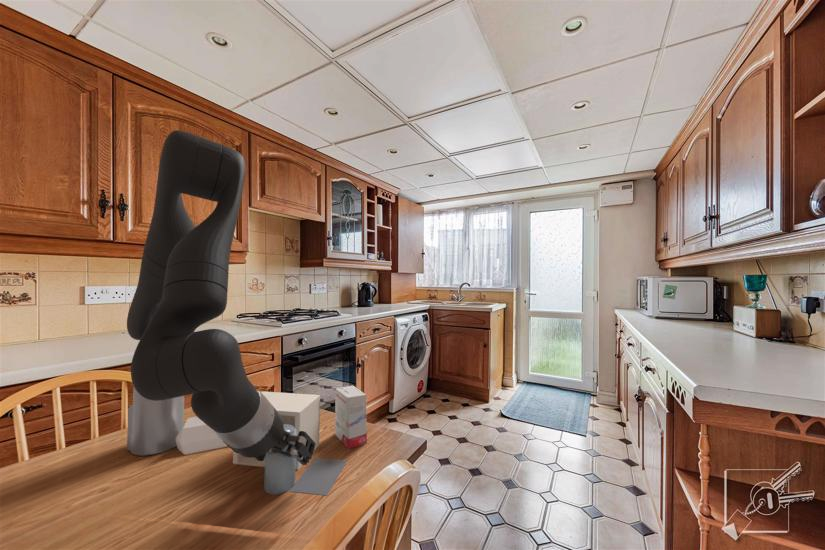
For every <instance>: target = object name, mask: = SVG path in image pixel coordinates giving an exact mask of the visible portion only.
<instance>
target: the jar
mask: <svg viewBox="0 0 825 550" xmlns="http://www.w3.org/2000/svg"><path fill="white" fill-rule="evenodd" d="M283 426H284V429H285V431H287V432H289V433H291V434H293V435H296V433H297V431H296V429H295V428H294V426H292V425H289V424H283ZM287 447H288V446H287ZM287 447H285V448H284V449H283V450H282V451H284V452H286V450H287ZM294 452H295V453H296V450H294ZM295 464H296V458H293V457H289V458H284V457H281V456H279V455H276V454H268V453H265V467H264V477H263V478H264V479H263V480H264V483H263V485H264V486H263V489H264V492H265V494H269V495H281V494H284V493H286V492H288V491H290V490H291V488H292V487H293V486H294V485H295V483H296V470H295Z"/></svg>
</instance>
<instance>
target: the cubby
mask: <svg viewBox="0 0 825 550" xmlns="http://www.w3.org/2000/svg"><path fill="white" fill-rule="evenodd" d="M261 393H262V394H263V395H264V396H265V397H266V398H267V399H268V401H269V402H270V403H271V404H272V405H273V407H274V408H275V409H276V410H277V412H278V413H279V414H280V415H281V417H282V420H283V424H289V425H292V426H294V428H295V429H296V431H297V433H296V436H298V434H299V431H304V432H306V433H307V434H308V435H309V437H310V438H311V439H312V440H313V441H314V442H315V443H316V445H315V448H314V451H316V449H317V448H318V446H319V445H320V425H321V424H320V422H321V421H320V418H321V394H307V393H294V392H279V391H278V392H275V391H261ZM232 451H233V450H232ZM297 452H298V451H297V450H296V453H297ZM232 464H233V465H242V466H254V467H263V468H265V458H264V460H263V461H258V460H257V459H256V458H254V457H252V458H249V457H244V456H242V455H240V454H239V453H236V452H234V451H233V452H232ZM302 466H303V465H302V464H301V463H300V462H299V461H298V460H297V459H296V464H295V471H296V470H297V471H299V470H300V469H301V468H302Z"/></svg>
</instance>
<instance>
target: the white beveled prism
mask: <svg viewBox="0 0 825 550" xmlns="http://www.w3.org/2000/svg"><path fill="white" fill-rule="evenodd" d="M175 441H176V444H177V446H176V447H177V449H178V451H180V452H181V453H182V454H183V455H184V456H186V455H191V454H196V453H200V452H205V451H212V450H217V449H221V448H225V447H228V446H227V445H226V444H225V443H224V442H223V440H221V439H220V438H219V437H218V436H217V434H216V433H215V431H214V430H213V429H211V428H210V427H209V426H208V425H206V424H205V423H204V422H203V421H201V420H200V419H199V418H198V417H197V416H192V417H191V416H190V417H188V418H187V419H186V420H185V422H183V426H182V428H181V430H180V431H179V433H178V435H177V437H176V439H175Z"/></svg>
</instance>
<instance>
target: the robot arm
mask: <svg viewBox="0 0 825 550" xmlns="http://www.w3.org/2000/svg"><path fill="white" fill-rule="evenodd" d="M245 162H246V161H245V159H244V157H243V155H242V154H241V152H239V151H237V150H235V149H233V148H232V147H229V146H226V145H223V144H221V143H218V142H215V141H212V140H210V139H207V138H205V137H201V136H199V135H197V134H193V133H190V132H187V131H184V130H177V129H176V130H173V131H171V132H170V133H169V134H168V135H167V136H166V138H165V140H164V144H163V146H162V149H161V153H160V159H159V165H158V173H157V174H158V175H157V183H156V188H155V189H156V190H155V199H154V206H153V210H152V211H153V212H152V217H151V221H150V224H149V229H148V233H147V234H146V240H145V241H144V247H143V253H142V257H141V262H140V270H139V275H138V276H139V277H138V281H137V286H136V289H135V293H134V294H133V297H132V299H131V303H130V306H129V310H128V314H127V318H126V329H127V333H128V335H129V337H130V338H132V339H133V340H136V341H138V344H137V345H136V348H135V350H134V352H133V356H132V360H131V363H130V364H131V365H130V377H131V383H132V385H133V389H132V390H133V391H132V392H133V393H132V404H131V405H129V406H128V408H127V409H128V413H127V435H126V437H127V438H126V450H127V451H130V453H131V454H132V455H134V456H150V455H156V454H160V453H164V452H166V451H170V450H171V449H173V448H176V447H177V444H176V441H175V439H176V437H177V435H178V433H179V431H180V430H181V428H182V426H183V425H184V414H185V396H188V395H189V396H190V395H191V398H190V406H191V410H192V412H193V413H194V414H195V417H198V418H199V419H200V420H201V421H203V422H204V423H205V424H206V425H208V426H209V427H210V428H211V429H213V430H214V431H215V433H216V434H217V436H218V437H219V438H220V439H221V440H223V442H224V443H225V444H226V445H227V447H228V448H230V449H231V450H232V451H234V452H236V453H239V454H240V455H242V456H244V457H249V458H252V457H254V458H256V459H257V460H258V461H263V460H264V458H265V453H268V454H276V455H279V456H281V457H284V458H289V457H293V458H296V459H297V460H298V461H299V462H300V463H301V464H302V466H307V464H308V463H309V462H310V460H312V458H313V455H314V451H315V450H314V448H315V445H316V443H315V442H314V441H313V440H312V439H311V438H310V437H309V435H308V434H307V433H306V432H304V431H299V434H298V436H296V435H293V434H291V433H289V432H287V431H285V429H284V426H283V420H282V417H281V415H280V414H279V413H278V412H277V410H276V409H275V408H274V407H273V405H272V404H271V403H270V402H269V401H268V399H267V398H266V397H265V396H264V395H263V394H262V393H261V392H262V391H261V392H260V391H259V389H257V388H256V387H255V385H254V384H253V382H251V381H250V380H249V378H248V376H247V373H246V370H245V369H246V368H245V367H244V365H243V363H244V362H243V359H242V354H241V349H240V345H239V342H238V340H237V339H236V337H234V335H232V334H231V333H229V332H227V331H225V330H223V329H220V328H207V329H204V330H197V328H199V327H200V326H202V325H204V324H206V323H208V322H210V321H212V320H215V319H217V318H218V317H219V316H222V314H224V312H225V310H226V308H227V304H228V291H229V290H228V289H229V273H230V272H229V270H230V269H229V268H230V267H229V266H230V259H231V258H230V256H231V251H232V245H233V241H234V240H233V239H234V235H235V232H236V228H237V223H238V217H239V212H240V207H241V201H242V196H243V191H244V187H245V186H244V185H245V179H246V178H245V177H246V163H245ZM182 194H183V195H188V196H191V197H195V198H196V197H197V198H199V199H202V200H206V201H209V202H216V203H217V204H216V206H215V207H214V209H213V211H212V212H211V213H210V214H209V215H208V216H207V217H206V218H205V219H203V220H202V221H201V222H200V223H199V224H198V225H195V223H194V221H193V220H192V218H191V217H190V215H189V214H188V211H187V210H186V207H185V204H184V201H183V197H182ZM196 330H197V331H196ZM287 446H288V447H287ZM285 447H287V450H286V452H284V451H282V450H283V449H284V448H285ZM294 450H297V451H298V452H297V453H295V452H294Z"/></svg>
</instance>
